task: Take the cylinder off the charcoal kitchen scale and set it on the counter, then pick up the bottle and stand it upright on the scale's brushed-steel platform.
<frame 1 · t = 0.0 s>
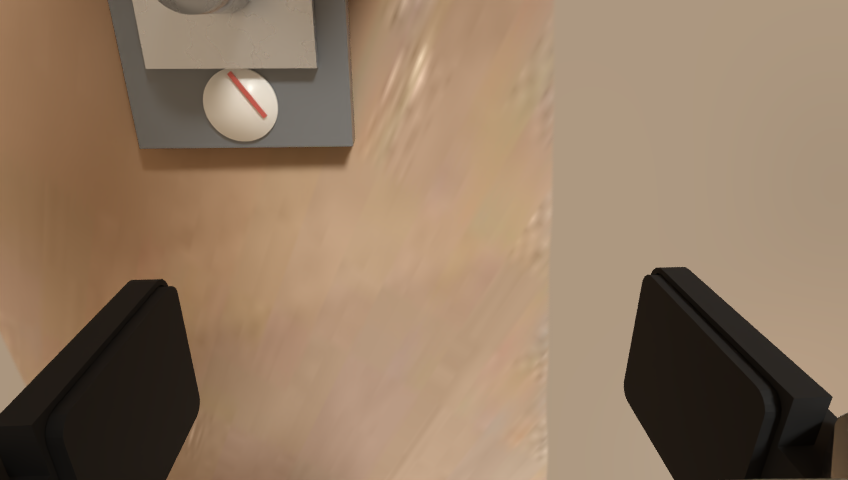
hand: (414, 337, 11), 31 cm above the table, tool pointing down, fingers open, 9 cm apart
scale: (239, 17, 37), on the table
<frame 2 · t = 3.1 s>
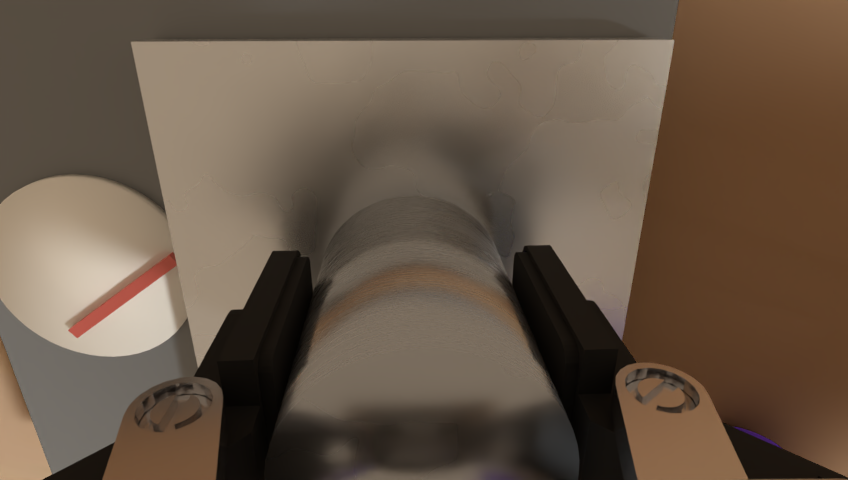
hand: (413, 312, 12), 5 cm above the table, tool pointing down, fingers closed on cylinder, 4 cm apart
platform: (411, 272, 13), point 3 cm above the table, slide at -0.9 cm, touching cylinder
scale: (324, 231, 16), on the table
cylinder: (411, 281, 13), point 3 cm above the table, touching gripper, platform
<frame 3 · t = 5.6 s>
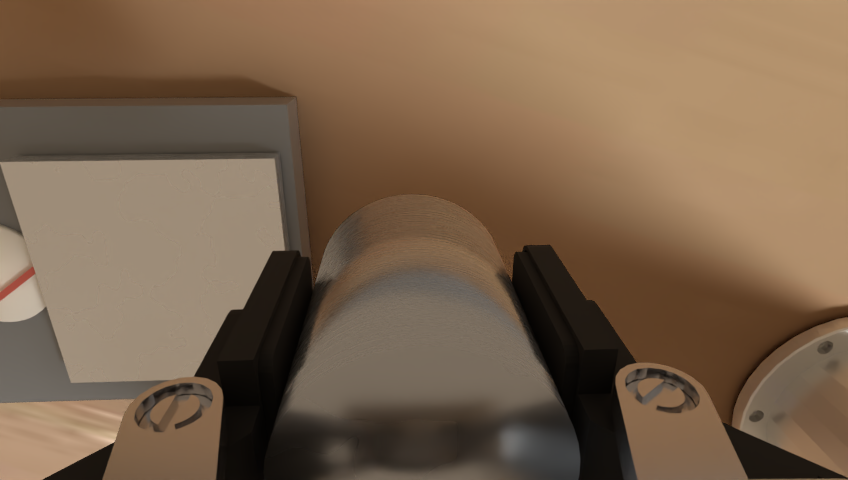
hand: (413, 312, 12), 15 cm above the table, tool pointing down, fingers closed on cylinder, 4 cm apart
platform: (168, 274, 24), point 3 cm above the table, slide at -0.9 cm
scale: (140, 250, 27), on the table
cylinder: (411, 280, 13), point 14 cm above the table, touching gripper
when the fingers open (2 cm above the table, at t = 8.2 s): cylinder stays where it is, on the table.
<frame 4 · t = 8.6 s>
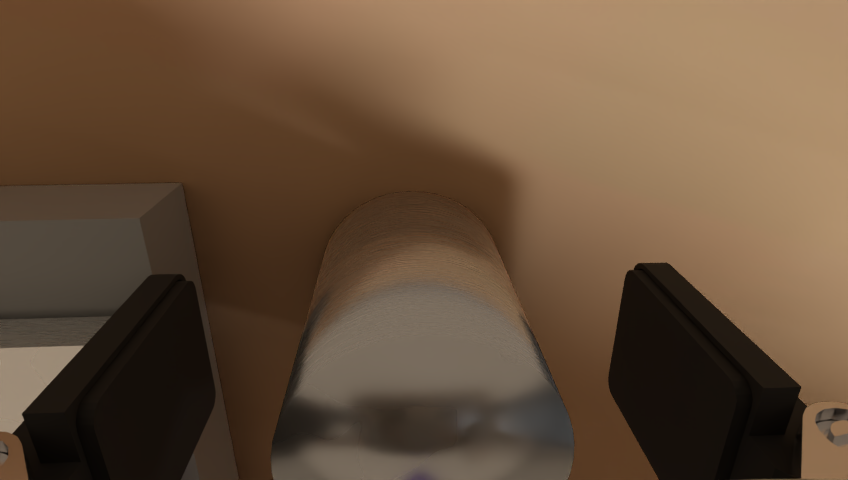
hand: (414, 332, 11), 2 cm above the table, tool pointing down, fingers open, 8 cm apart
cylinder: (411, 275, 13), on the table
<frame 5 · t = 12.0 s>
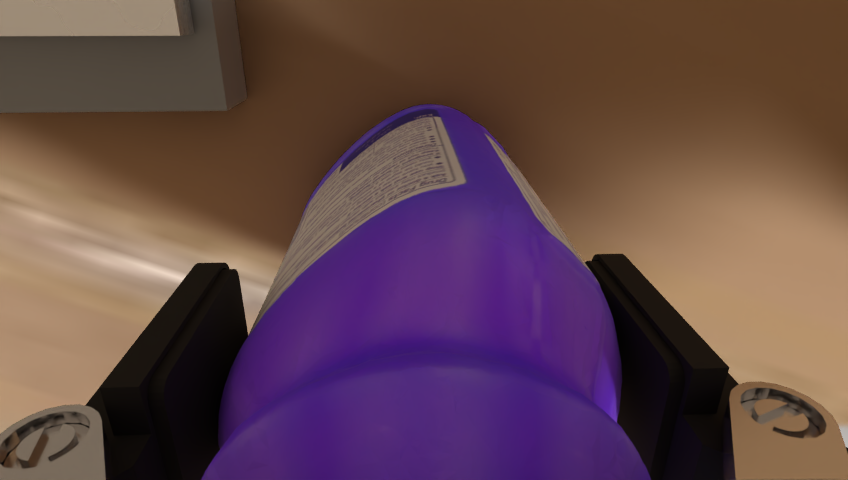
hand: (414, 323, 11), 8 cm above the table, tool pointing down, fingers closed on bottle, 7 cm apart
bottle: (407, 198, 19), on the table, touching gripper
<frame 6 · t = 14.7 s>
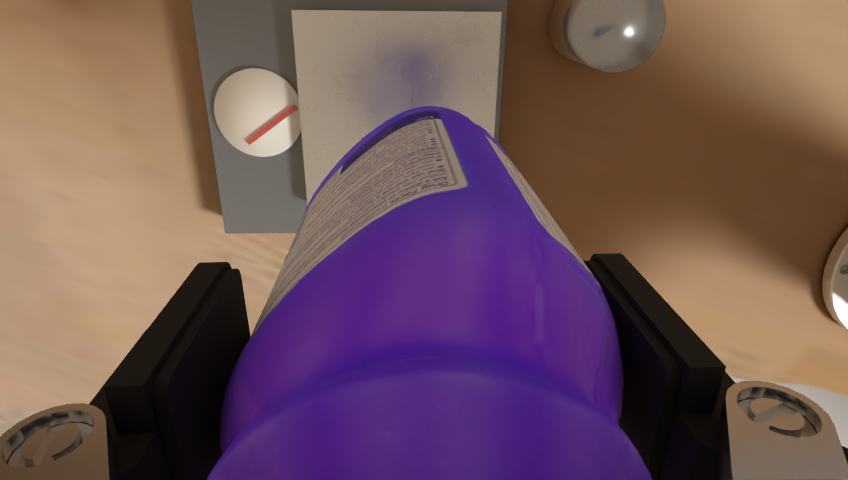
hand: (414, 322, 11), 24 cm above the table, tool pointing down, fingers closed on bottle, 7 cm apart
platform: (398, 115, 31), point 3 cm above the table, slide at -0.8 cm
bottle: (407, 200, 19), point 16 cm above the table, touching gripper
scale: (358, 107, 33), on the table
cylinder: (585, 22, 32), on the table
when the fingers open (13 cm above the table, at t = 17.2 s): bottle drops 2 cm, resting on platform.
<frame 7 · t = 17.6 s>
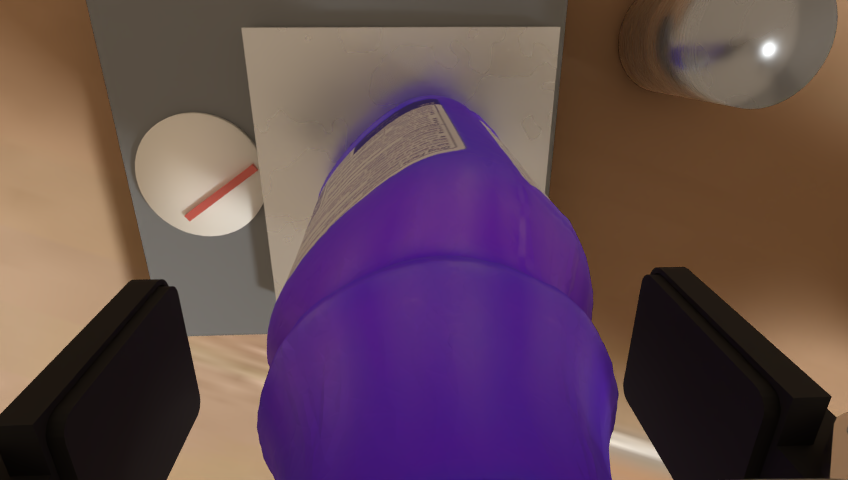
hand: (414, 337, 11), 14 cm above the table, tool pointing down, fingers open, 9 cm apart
platform: (405, 176, 21), point 3 cm above the table, slide at -0.9 cm, touching bottle
bottle: (410, 182, 21), point 3 cm above the table, touching platform
scale: (347, 159, 23), on the table
cylinder: (671, 37, 22), on the table
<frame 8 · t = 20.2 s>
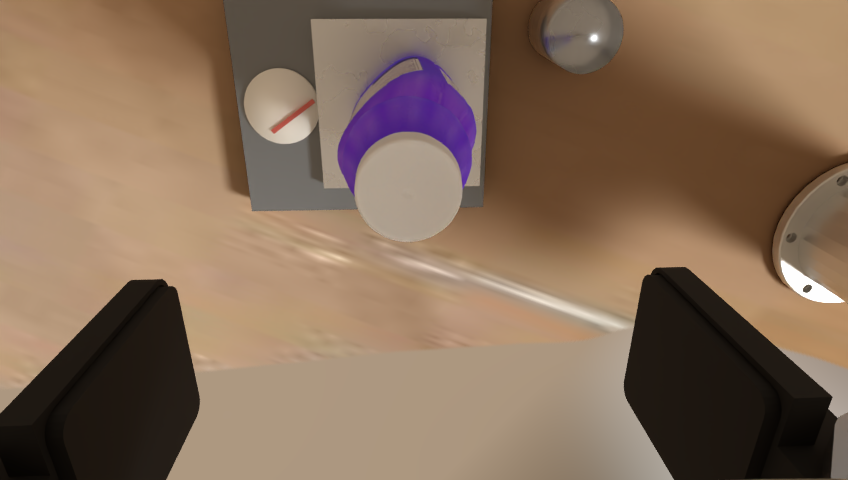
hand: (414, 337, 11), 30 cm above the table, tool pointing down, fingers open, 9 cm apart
platform: (400, 106, 36), point 3 cm above the table, slide at -0.9 cm, touching bottle
bottle: (404, 109, 36), point 3 cm above the table, touching platform
scale: (365, 100, 38), on the table
cylinder: (559, 26, 37), on the table
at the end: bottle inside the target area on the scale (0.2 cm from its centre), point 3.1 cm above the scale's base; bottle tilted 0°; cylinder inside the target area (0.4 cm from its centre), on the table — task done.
